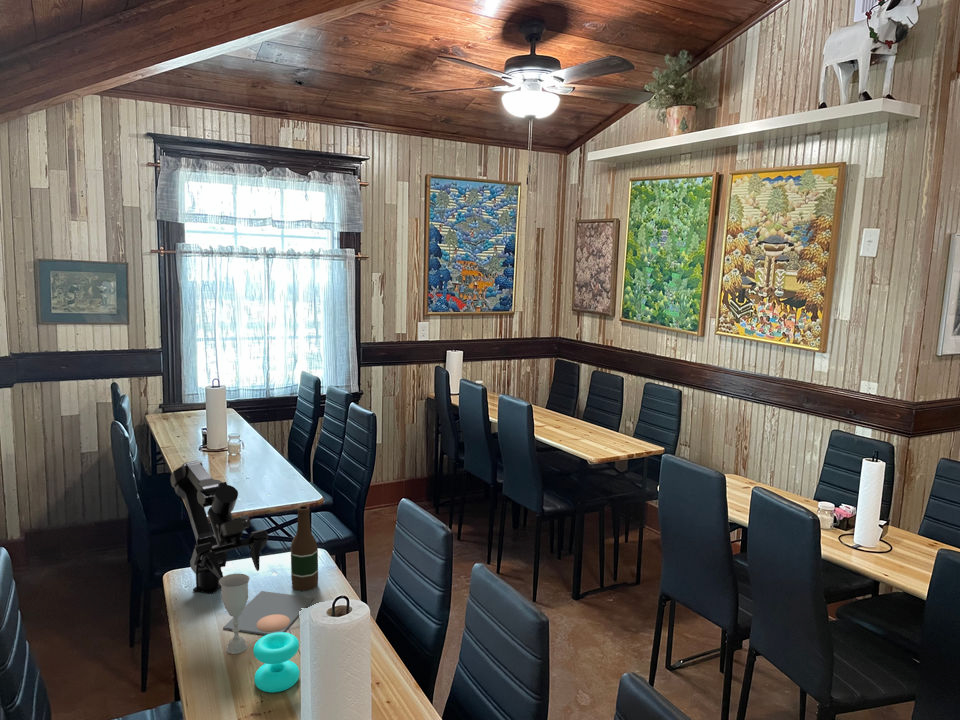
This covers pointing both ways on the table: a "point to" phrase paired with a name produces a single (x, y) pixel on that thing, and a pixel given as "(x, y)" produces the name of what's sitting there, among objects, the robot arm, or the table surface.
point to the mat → (270, 613)
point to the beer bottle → (304, 554)
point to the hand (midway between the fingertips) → (240, 574)
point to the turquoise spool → (276, 662)
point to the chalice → (235, 606)
